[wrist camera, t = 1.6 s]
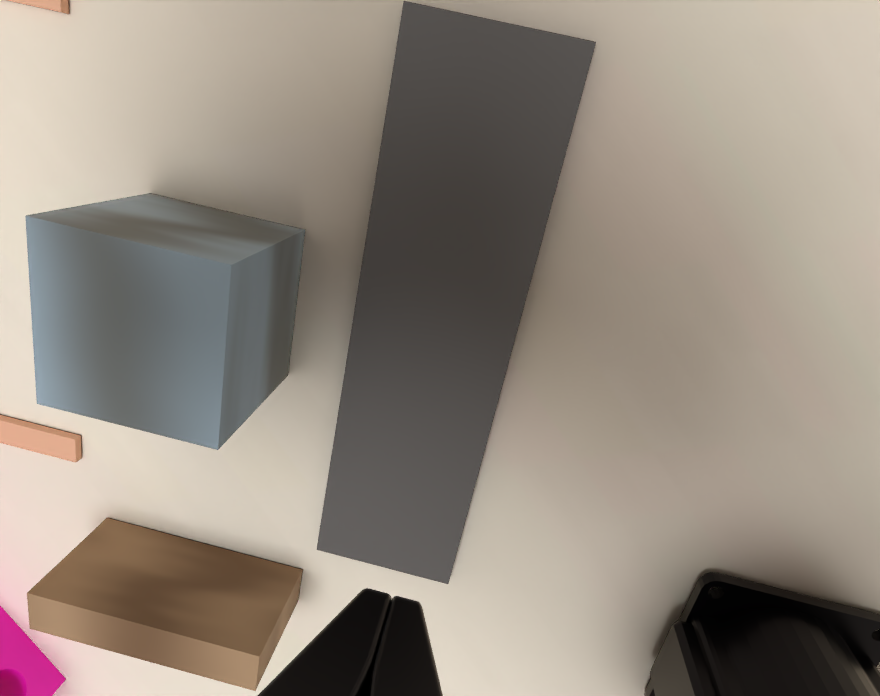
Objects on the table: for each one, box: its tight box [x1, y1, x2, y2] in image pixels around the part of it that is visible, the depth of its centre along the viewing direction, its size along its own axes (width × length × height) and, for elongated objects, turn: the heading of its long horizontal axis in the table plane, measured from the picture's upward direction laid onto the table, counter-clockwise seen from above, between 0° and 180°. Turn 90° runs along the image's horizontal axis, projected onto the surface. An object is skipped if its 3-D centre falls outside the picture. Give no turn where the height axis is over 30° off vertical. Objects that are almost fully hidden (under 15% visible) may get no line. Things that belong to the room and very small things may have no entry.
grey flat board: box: [317, 1, 596, 584], centre depth 18 cm, size 5×18×1 cm, turn 168°
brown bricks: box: [27, 518, 303, 691], centre depth 17 cm, size 8×24×4 cm, turn 168°
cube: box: [26, 193, 305, 450], centre depth 17 cm, size 5×5×5 cm
